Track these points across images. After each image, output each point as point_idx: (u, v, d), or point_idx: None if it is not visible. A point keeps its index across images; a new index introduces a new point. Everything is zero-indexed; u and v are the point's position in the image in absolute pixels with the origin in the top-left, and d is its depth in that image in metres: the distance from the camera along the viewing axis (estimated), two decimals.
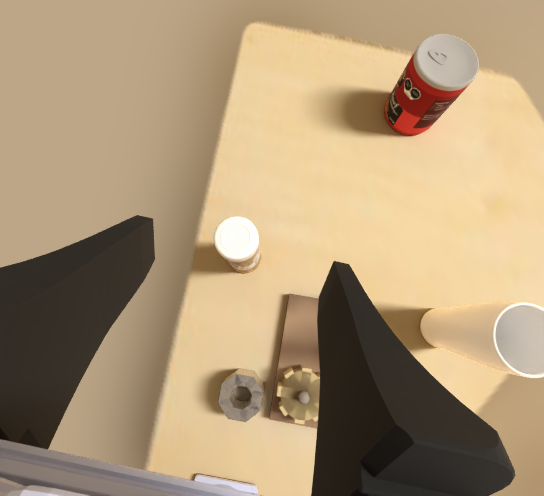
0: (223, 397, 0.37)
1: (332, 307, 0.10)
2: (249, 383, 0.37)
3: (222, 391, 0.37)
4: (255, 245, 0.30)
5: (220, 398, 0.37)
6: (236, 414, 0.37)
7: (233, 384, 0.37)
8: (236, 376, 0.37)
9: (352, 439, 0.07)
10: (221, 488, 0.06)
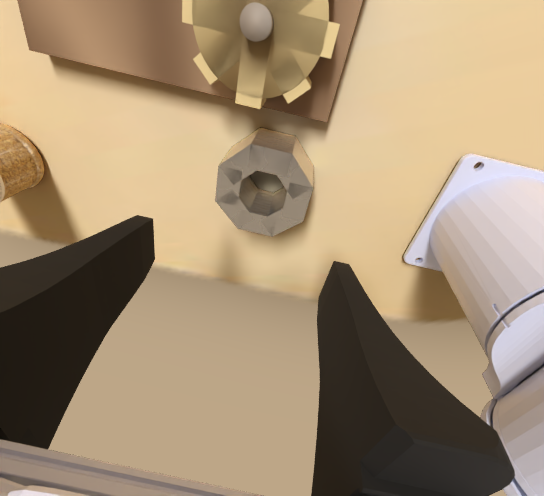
0: (261, 226, 0.18)
1: (332, 307, 0.10)
2: (233, 175, 0.16)
3: (251, 228, 0.18)
4: None
5: (263, 232, 0.18)
6: (296, 205, 0.17)
7: (236, 207, 0.17)
8: (220, 200, 0.17)
9: (352, 439, 0.07)
10: (221, 488, 0.06)
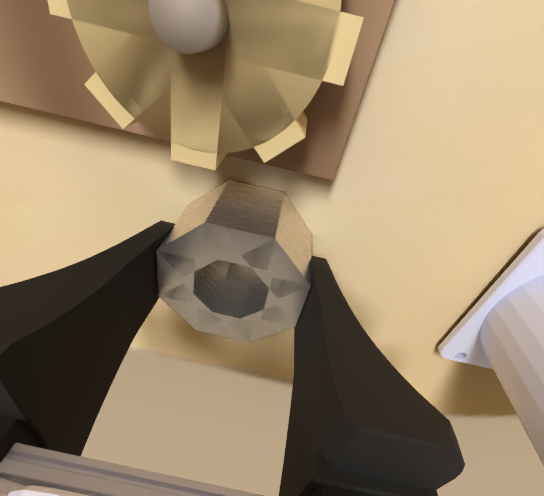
0: (231, 329, 0.12)
1: (306, 301, 0.10)
2: (181, 264, 0.10)
3: (216, 331, 0.12)
4: None
5: (235, 336, 0.12)
6: (283, 306, 0.11)
7: (191, 305, 0.11)
8: (166, 296, 0.11)
9: (312, 430, 0.07)
10: (221, 488, 0.06)
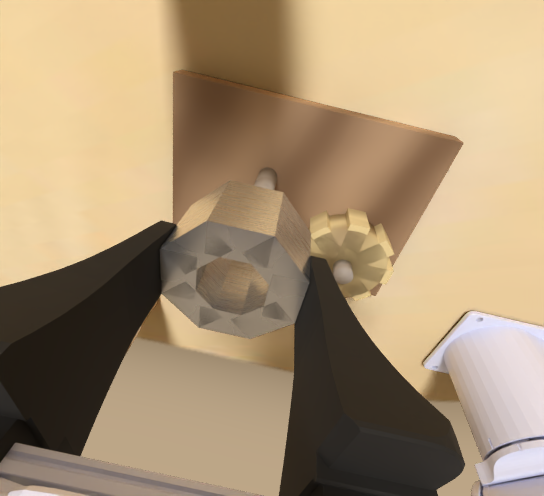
0: (232, 326, 0.12)
1: (306, 301, 0.10)
2: (184, 262, 0.10)
3: (218, 328, 0.12)
4: None
5: (237, 333, 0.12)
6: (283, 303, 0.11)
7: (193, 302, 0.12)
8: (169, 293, 0.11)
9: (312, 430, 0.07)
10: (221, 488, 0.06)
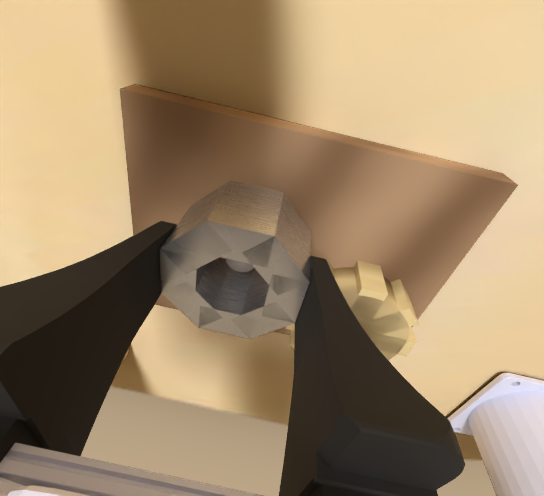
0: (232, 326, 0.12)
1: (306, 301, 0.10)
2: (184, 262, 0.10)
3: (218, 328, 0.12)
4: None
5: (237, 333, 0.12)
6: (283, 303, 0.11)
7: (193, 302, 0.12)
8: (169, 293, 0.11)
9: (312, 430, 0.07)
10: (221, 488, 0.06)
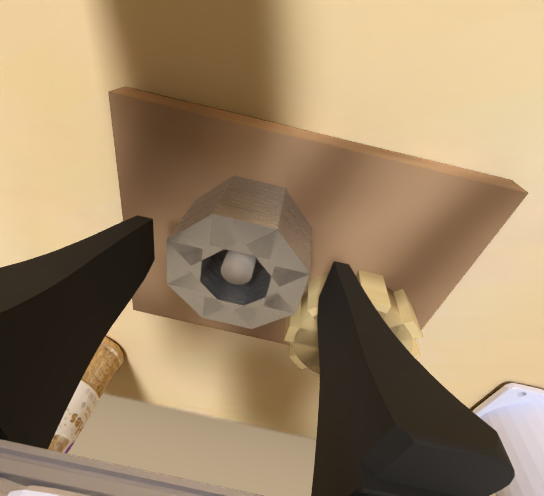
0: (235, 316, 0.13)
1: (332, 307, 0.10)
2: (190, 253, 0.11)
3: (221, 318, 0.13)
4: None
5: (239, 323, 0.13)
6: (284, 294, 0.11)
7: (198, 293, 0.12)
8: (174, 284, 0.12)
9: (352, 439, 0.07)
10: (221, 488, 0.06)
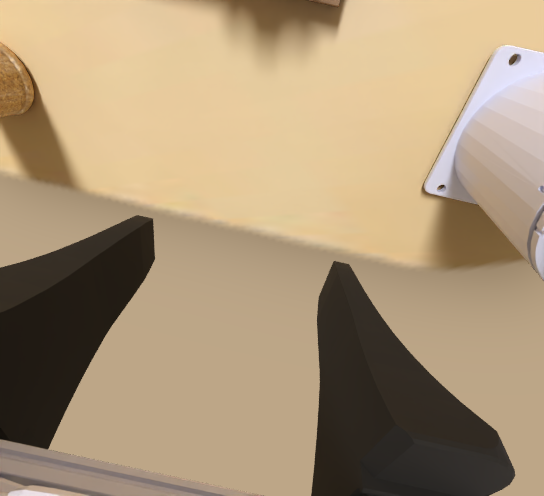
0: None
1: (332, 307, 0.10)
2: None
3: None
4: None
5: None
6: None
7: None
8: None
9: (352, 439, 0.07)
10: (221, 488, 0.06)
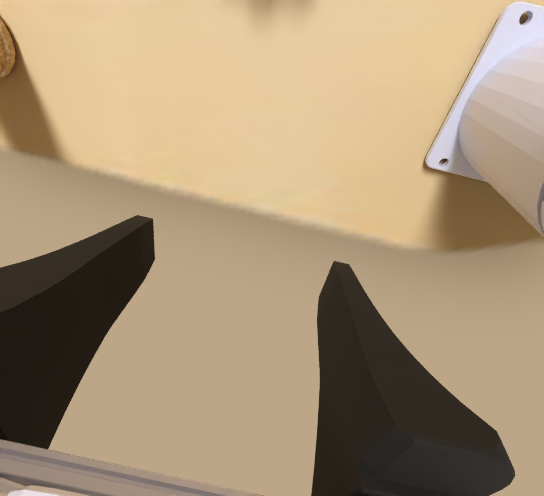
0: None
1: (332, 307, 0.10)
2: None
3: None
4: None
5: None
6: None
7: None
8: None
9: (352, 439, 0.07)
10: (221, 488, 0.06)
